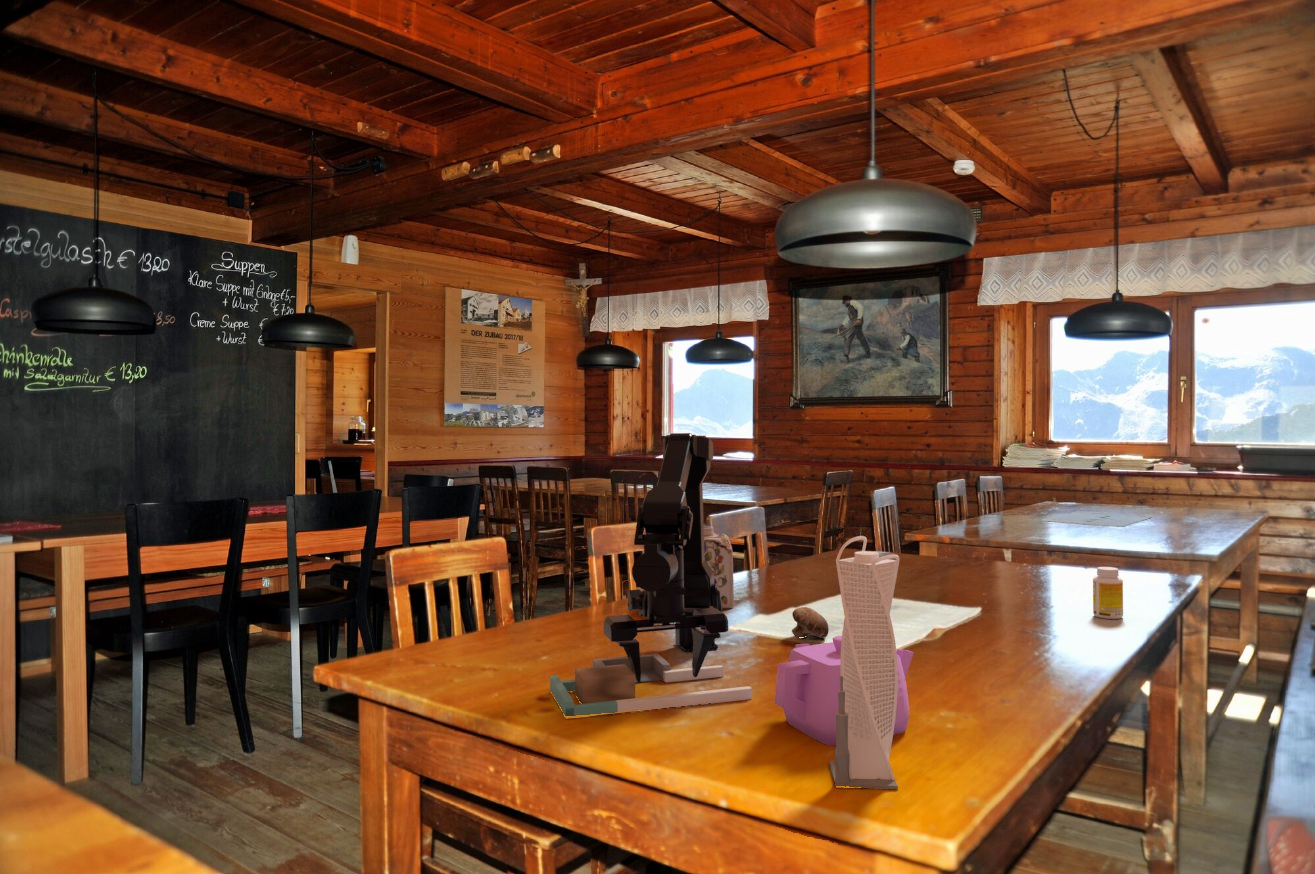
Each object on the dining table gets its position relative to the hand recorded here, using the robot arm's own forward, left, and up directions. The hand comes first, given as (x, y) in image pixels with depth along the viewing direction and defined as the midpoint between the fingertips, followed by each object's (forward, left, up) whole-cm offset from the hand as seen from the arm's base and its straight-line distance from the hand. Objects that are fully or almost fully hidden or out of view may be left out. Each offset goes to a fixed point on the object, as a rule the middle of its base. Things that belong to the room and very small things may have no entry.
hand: (666, 679), depth 136 cm
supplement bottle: (-102, -19, -2) cm, 104 cm away
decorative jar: (-27, -60, -2) cm, 66 cm away
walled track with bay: (+3, -4, -2) cm, 5 cm away
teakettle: (-19, +21, -2) cm, 29 cm away
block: (+10, 0, -2) cm, 10 cm away
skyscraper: (-13, +37, -2) cm, 39 cm away
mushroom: (-36, -24, -2) cm, 44 cm away
